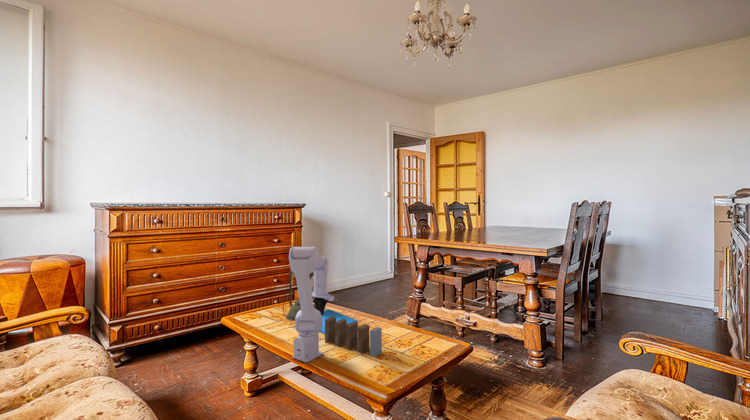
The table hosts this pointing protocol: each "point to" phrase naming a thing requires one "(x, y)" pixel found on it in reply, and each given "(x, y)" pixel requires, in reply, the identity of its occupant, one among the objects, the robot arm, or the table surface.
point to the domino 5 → (375, 341)
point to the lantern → (296, 306)
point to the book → (338, 316)
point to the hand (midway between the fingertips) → (320, 314)
